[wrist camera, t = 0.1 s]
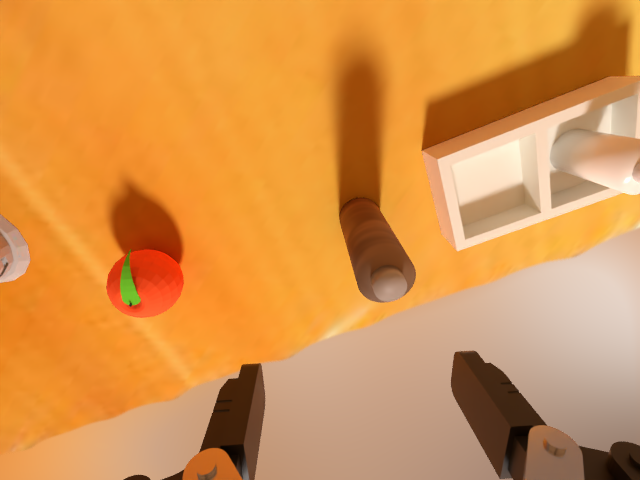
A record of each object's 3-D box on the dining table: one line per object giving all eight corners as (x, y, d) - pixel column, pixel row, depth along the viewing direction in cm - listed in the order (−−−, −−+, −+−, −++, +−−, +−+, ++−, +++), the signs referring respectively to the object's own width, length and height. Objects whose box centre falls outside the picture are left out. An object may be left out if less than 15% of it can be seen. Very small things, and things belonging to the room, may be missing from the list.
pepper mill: (351, 191, 33) (379, 252, 21) (387, 207, 34) (433, 274, 22) (332, 226, 35) (349, 301, 23) (367, 241, 36) (400, 319, 24)
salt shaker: (570, 121, 30) (668, 135, 22) (600, 139, 31) (704, 160, 23) (541, 160, 31) (622, 187, 23) (570, 177, 32) (657, 208, 24)
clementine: (116, 229, 34) (74, 264, 27) (183, 227, 34) (157, 262, 28) (136, 291, 37) (102, 335, 31) (196, 289, 38) (175, 332, 31)
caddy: (441, 234, 36) (457, 251, 32) (421, 150, 32) (437, 159, 28) (606, 174, 34) (642, 185, 30) (609, 76, 30) (652, 75, 26)
